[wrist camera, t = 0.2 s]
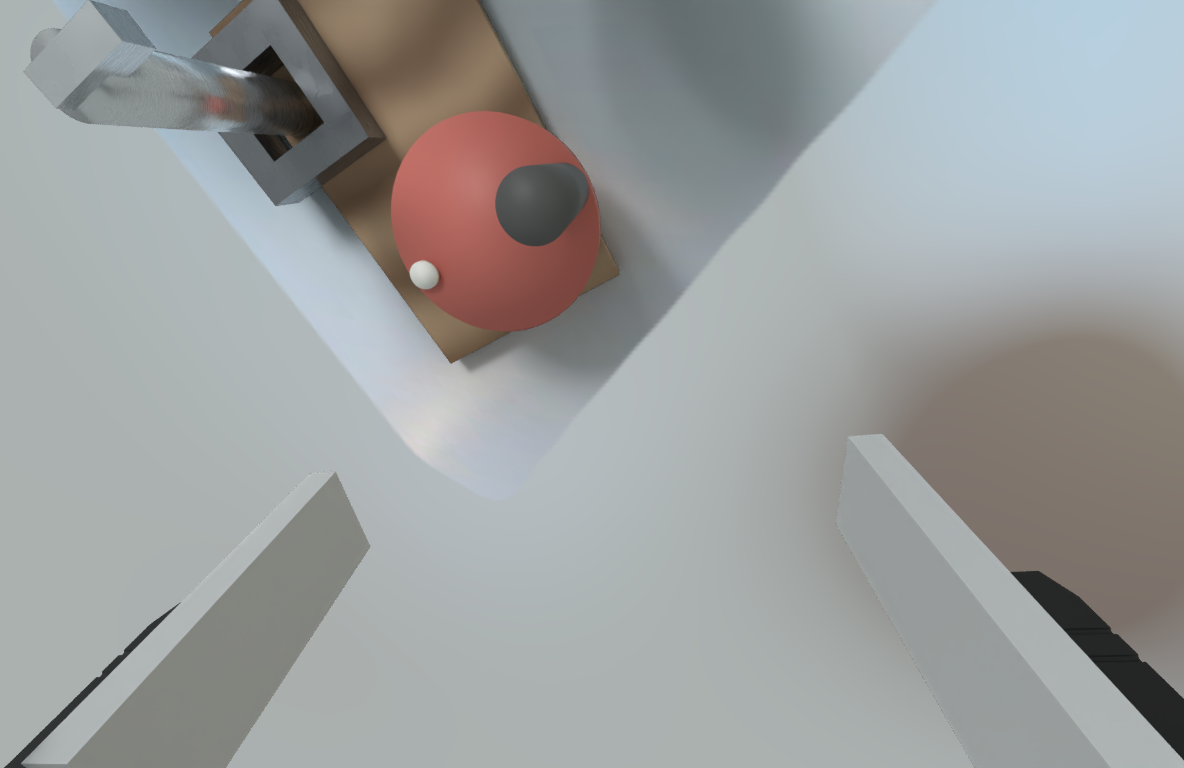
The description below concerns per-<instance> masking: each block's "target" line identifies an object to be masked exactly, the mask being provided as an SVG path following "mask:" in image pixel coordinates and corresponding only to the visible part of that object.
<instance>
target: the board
mask: <svg viewBox="0 0 1184 768" xmlns="http://www.w3.org/2000/svg"><path fill="white" fill-rule="evenodd" d="M252 1H253V0H243V1H242V2H241V3H240V4H239V5H238V6H236V7H235V8H234V9H233V10H232V11H231V12H230V13H229V14H228V15H227V16H226V17H225V18H224V19H223V20H222V21H221V22H220V23H218V24H217V25H216V26H215V27H214V28H213V29H212V30H211V31H210V32H209V33H210V34H211V36H212V37H213V38H214V37H215V36H216V35H217V34H218V33H219V32H220V31H221V30H222V29H223V28H224V27H225V26H226V25H227V24H228V23H230V22H231V21H232V20H233V19H234V18H235V17H236V16H237V15H238V14H239V13H240V12H241V11H242V10H243V9H244V8H246V7H247V6H248V5H249V4H250V3H251V2H252ZM298 1H299V3H300V5H301V6H302V8H303V9H304V11H305V12H306V14H307V15H308V17H309V18H310V20H311V22H312V23H313V25H314V26H315V28H316V29H317V31H318V32H319V34H320V35H321V37H322V38H323V40H324V42H325V43H326V45H327V46H328V48H329V49H330V51H331V52H332V54H333V55H334V57H335V58H336V60H337V62H338V63H339V65H340V66H341V68H342V69H343V71H344V72H345V74H346V75H347V77H348V78H349V80H350V82H351V83H352V85H353V86H354V88H355V89H356V91H357V92H358V94H359V95H360V97H361V99H362V100H363V102H364V103H365V105H366V106H367V108H368V109H369V111H370V112H371V114H372V115H373V117H374V119H375V120H376V122H377V123H378V125H379V126H380V128H381V129H382V131H383V132H384V134H385V135H386V137H387V139H386V140H384V141H383V142H381V143H380V144H379V145H377V146H376V147H375V148H373V149H372V150H371V151H369V152H368V153H366V154H365V155H364V156H362V157H361V158H360V159H358V160H357V161H355V162H354V163H353V164H351V165H350V166H349V167H347V168H346V169H345V170H343V171H342V172H340V173H339V174H338V175H336V176H335V177H334V178H332V179H331V180H329V181H328V182H327V183H325V184H324V185H323V186H322V188H323V189H324V191H325V192H326V193H327V195H328V196H329V197H330V199H331V200H332V202H333V203H334V204H335V206H336V207H337V208H338V210H339V211H340V212H341V214H342V215H343V217H344V218H345V219H346V221H347V222H348V223H349V225H350V226H351V228H352V229H353V230H354V232H355V233H356V234H357V236H358V237H359V239H360V240H361V241H362V243H363V244H364V245H365V247H366V248H367V249H368V251H369V252H370V254H371V255H372V256H373V258H374V259H375V260H376V262H377V263H378V265H379V266H380V267H381V269H382V270H383V271H384V273H385V274H386V276H387V277H388V278H389V280H390V281H391V282H392V284H393V285H394V286H395V288H396V289H397V291H398V292H399V293H400V295H401V296H402V297H403V299H404V300H405V302H406V303H407V304H408V306H409V307H410V308H411V310H412V311H413V312H414V314H415V315H416V317H417V318H418V319H419V321H420V322H421V323H422V325H423V326H424V328H425V329H426V330H427V332H428V333H429V334H430V336H431V337H432V339H433V340H434V341H435V343H436V344H437V345H438V347H439V348H440V349H441V351H442V352H443V354H444V355H445V356H446V358H447V359H448V360H449V362H450V363H453V362H455V361H457V360H459V359H461V358H463V357H465V356H466V355H468V354H470V353H472V352H474V351H476V350H478V349H480V348H482V347H483V346H485V345H487V344H489V343H491V342H493V341H495V340H497V339H499V338H500V337H502V336H504V335H506V334H508V333H510V332H512V331H492V330H486V329H482V328H478V327H475V326H472V325H469V324H466V323H464V322H462V321H460V320H458V319H456V318H454V317H452V316H451V315H449V314H448V313H446V312H445V311H443V310H442V309H441V308H439V307H438V306H437V305H436V304H434V303H433V302H432V301H431V300H430V299H429V298H428V297H427V296H426V295H425V294H424V293H423V292H422V291H421V289H420V288H419V287H417V286H416V285H415V284H414V283H413V282H412V280H411V278H410V274H409V272H408V271H407V269H406V267H405V265H404V263H403V261H402V259H401V257H400V254H399V251H398V248H397V245H396V242H395V238H394V233H393V229H392V219H391V199H392V192H393V186H394V182H395V179H396V175H397V172H398V170H399V168H400V165H401V163H402V161H403V159H404V157H405V156H406V154H407V153H408V151H409V149H410V148H411V147H412V145H413V144H414V143H415V142H416V141H417V140H418V139H419V137H420V136H422V135H423V134H424V133H425V132H426V131H428V130H429V129H430V128H431V127H433V126H435V125H436V124H438V123H440V122H441V121H443V120H445V119H448V118H450V117H453V116H455V115H459V114H463V113H468V112H476V111H492V112H502V113H506V114H510V115H514V116H517V117H520V118H522V119H525V120H527V121H530V122H532V123H535V124H537V125H539V126H541V127H542V128H544V129H546V127H545V125H544V124H543V122H542V120H541V118H540V116H539V114H538V112H537V110H536V108H535V106H534V104H533V102H532V100H531V98H530V96H529V95H528V93H527V91H526V89H525V87H524V85H523V83H522V81H521V79H520V77H519V75H518V73H517V71H516V69H515V68H514V66H513V64H512V62H511V60H510V58H509V56H508V54H507V52H506V50H505V48H504V46H503V44H502V42H501V41H500V39H499V37H498V35H497V33H496V31H495V29H494V27H493V25H492V23H491V21H490V19H489V17H488V15H487V14H486V12H485V10H484V8H483V6H482V4H481V2H480V0H298ZM271 77H274V78H279V79H283V80H288V81H292V82H296V81H295V80H294V78H293V77H292V75H291V74H290V72H289V71H288V69H287V68H286V66H285V65H284V66H282V67H281V68H280V69H279V70H278V71H277V72H275V73H274V74H273V75H272V76H271ZM296 83H297V82H296ZM323 123H324V121H323V120H322V121H321V125H322V124H323ZM321 125H320V126H321ZM546 130H547V129H546ZM285 137H286V139H287V140H288V141H289V143H290V144H291V145H292V147H294V146H295V145H297V144H298V143H299V142H300V141H302V140H303V139H304V138H306V137H296V136H285ZM618 275H619V268H618V266H617V264H616V262H615V261H614V259H613V257H612V255H611V253H610V251H609V249H608V247H607V245H606V243H605V241H604V239H603V237H602V235H601V234H600V244H599V249H598V254H597V258H596V261H595V264H594V267H593V270H592V273H591V276H590V278H589V280H588V281H587V283H586V285H585V287H584V289H583V290H582V292H581V293H580V294H579V296H580V295H582V294H584V293H585V292H587V291H589V290H591V289H593V288H595V287H597V286H599V285H601V284H603V283H604V282H606V281H608V280H610V279H612V278H614V277H616V276H618Z"/></svg>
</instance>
